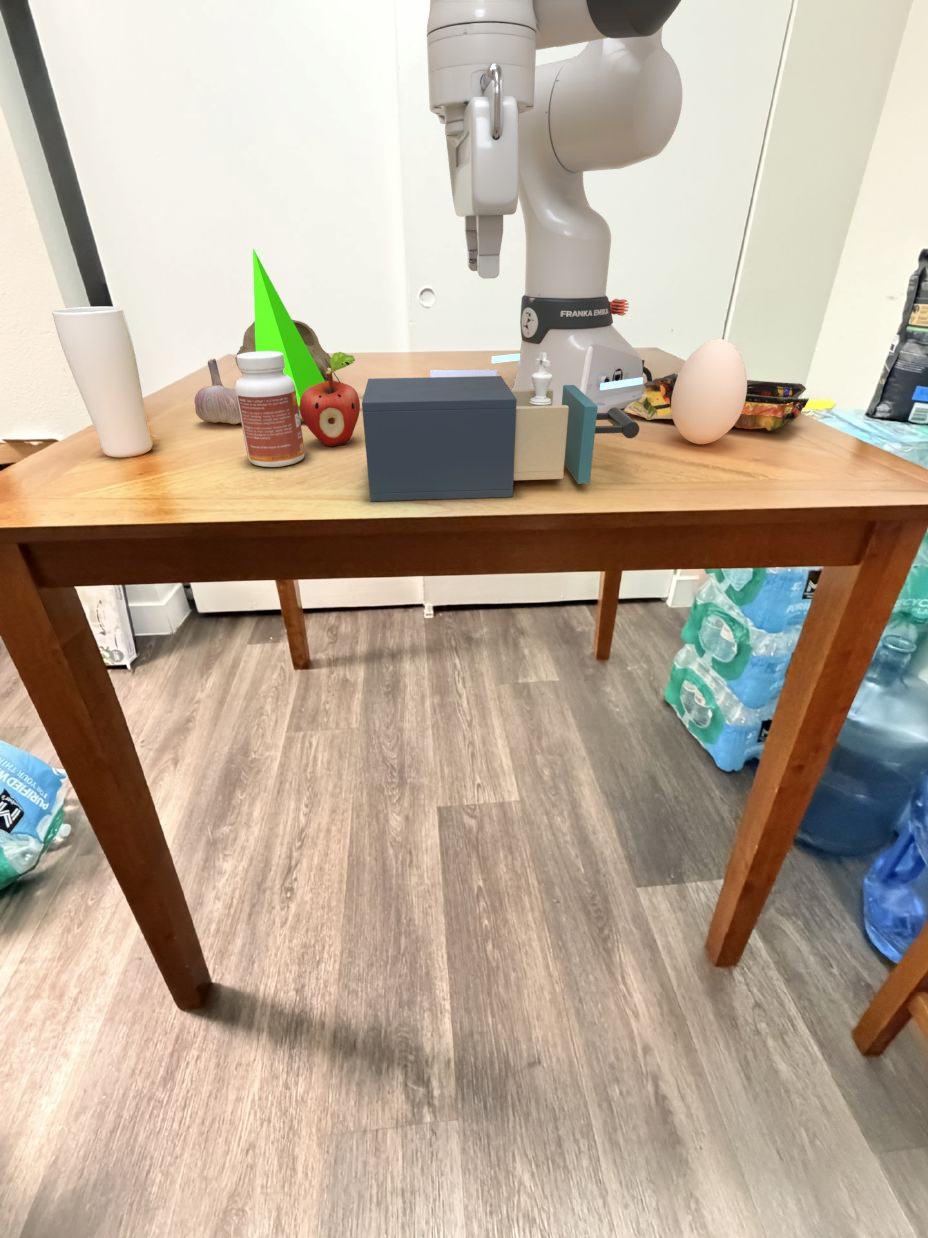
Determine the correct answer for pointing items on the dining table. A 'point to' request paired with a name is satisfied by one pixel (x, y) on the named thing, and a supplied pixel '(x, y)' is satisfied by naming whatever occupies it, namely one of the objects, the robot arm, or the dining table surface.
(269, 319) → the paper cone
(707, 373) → the egg
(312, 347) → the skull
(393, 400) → the cabinet
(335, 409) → the apple
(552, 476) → the drawer
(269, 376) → the pill bottle
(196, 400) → the garlic bulb
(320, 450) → the dining table surface
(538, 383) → the chess piece
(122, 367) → the drinking glass
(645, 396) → the food
